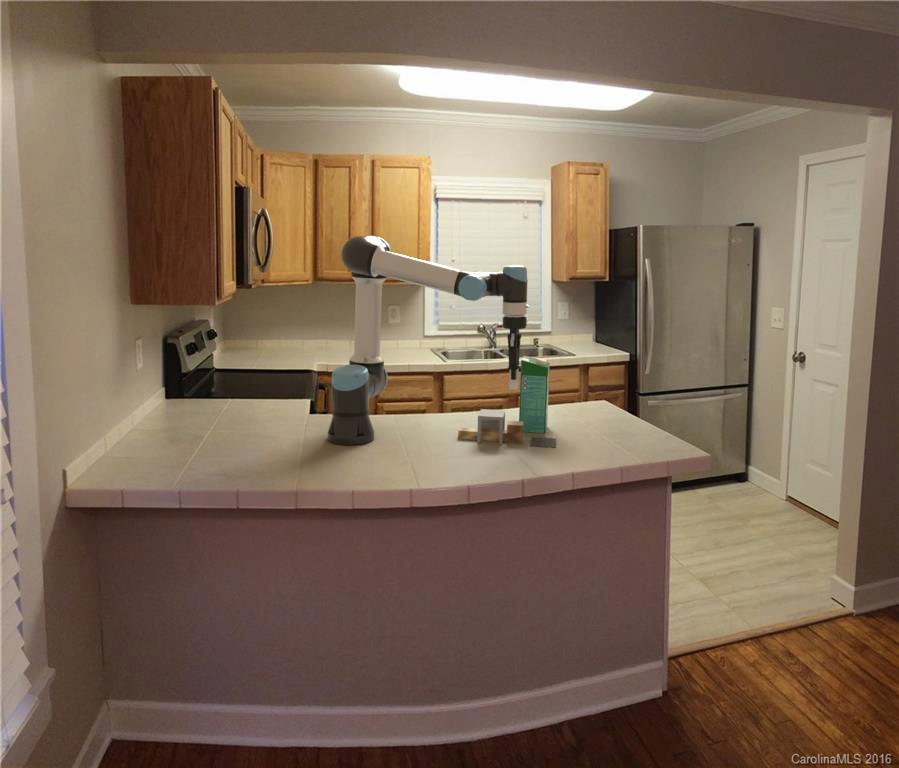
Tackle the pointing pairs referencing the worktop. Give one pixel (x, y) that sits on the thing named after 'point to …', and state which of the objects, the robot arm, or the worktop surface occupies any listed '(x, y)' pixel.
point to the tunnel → (491, 422)
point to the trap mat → (543, 442)
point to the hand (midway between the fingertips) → (513, 388)
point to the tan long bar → (485, 434)
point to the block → (515, 431)
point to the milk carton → (534, 394)
